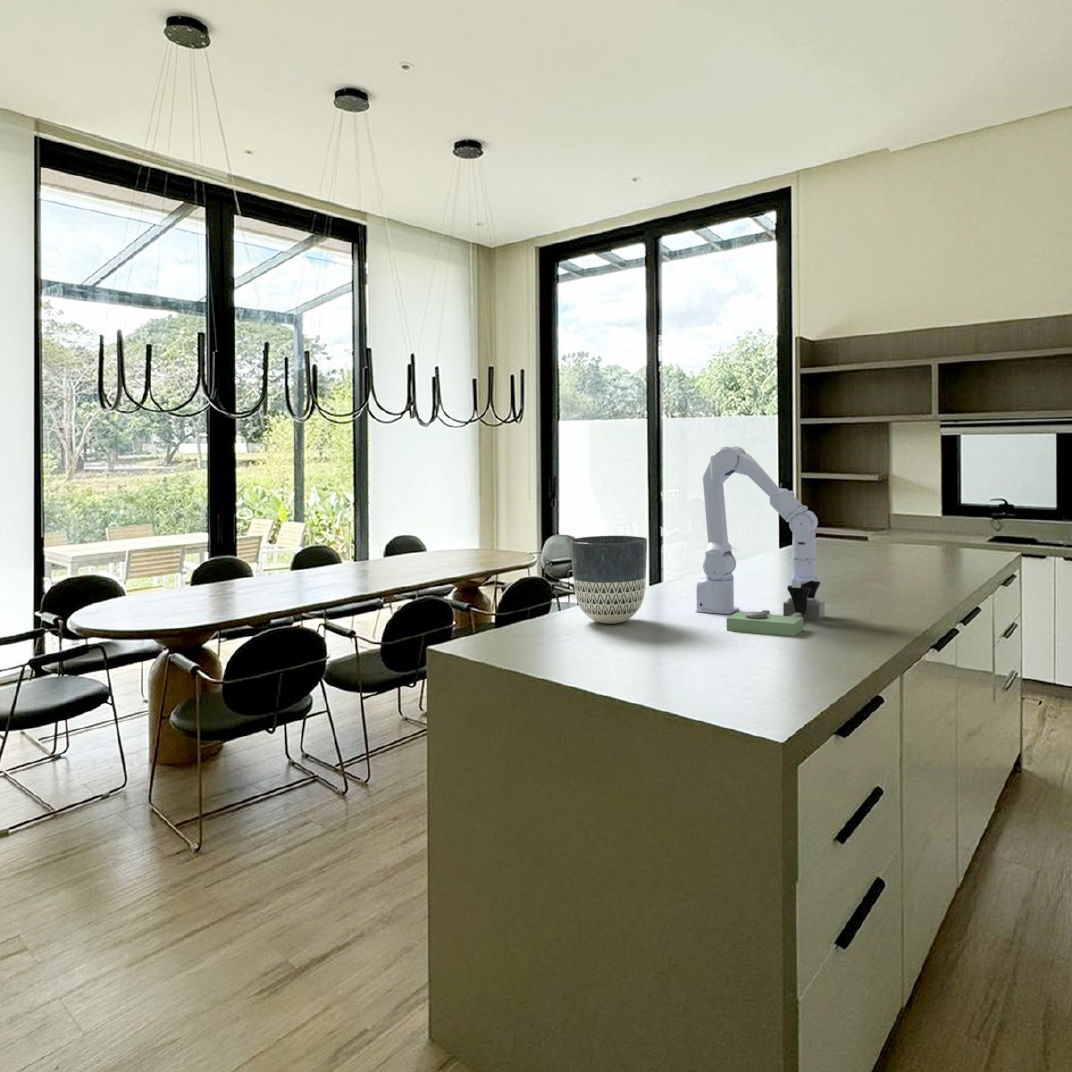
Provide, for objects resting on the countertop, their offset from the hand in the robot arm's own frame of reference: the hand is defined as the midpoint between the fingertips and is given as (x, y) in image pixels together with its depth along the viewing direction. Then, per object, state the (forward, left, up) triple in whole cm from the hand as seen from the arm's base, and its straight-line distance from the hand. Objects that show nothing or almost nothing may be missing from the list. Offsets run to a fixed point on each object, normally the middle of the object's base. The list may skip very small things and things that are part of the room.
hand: (803, 611), depth 211 cm
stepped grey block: (0, 0, -2) cm, 2 cm away
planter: (-42, -26, -2) cm, 49 cm away
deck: (-4, -14, -1) cm, 15 cm away
